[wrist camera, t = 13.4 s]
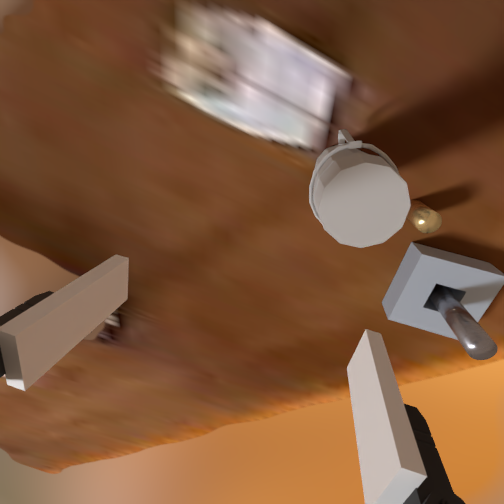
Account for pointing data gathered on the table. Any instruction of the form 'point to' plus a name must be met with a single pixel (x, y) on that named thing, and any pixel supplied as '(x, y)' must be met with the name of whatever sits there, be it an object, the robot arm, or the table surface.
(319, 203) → the water bottle
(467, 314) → the long pin
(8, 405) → the table surface
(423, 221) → the short pin
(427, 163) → the table surface
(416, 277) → the socket block
